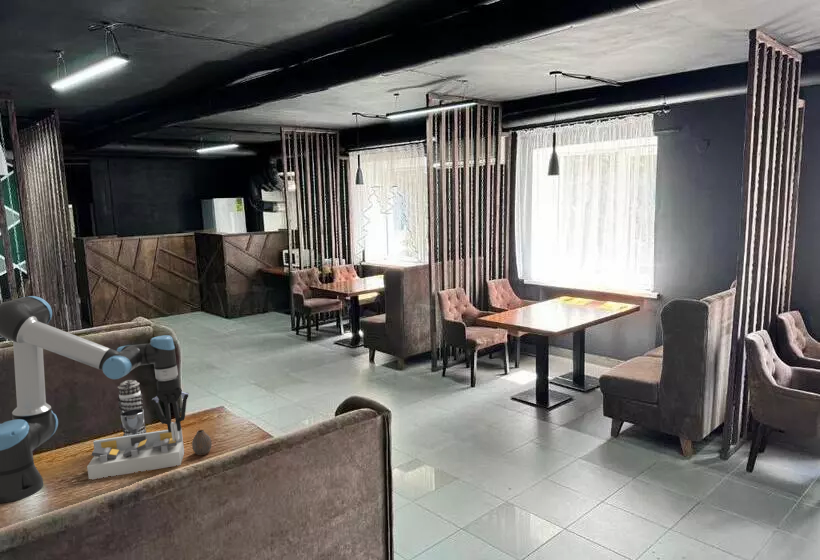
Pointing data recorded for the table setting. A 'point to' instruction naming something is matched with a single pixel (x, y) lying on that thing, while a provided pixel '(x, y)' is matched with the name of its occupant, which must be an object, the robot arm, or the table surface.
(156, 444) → the switch right
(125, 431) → the decorative candle
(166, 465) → the switch unit
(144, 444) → the switch middle
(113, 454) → the switch left
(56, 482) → the table surface
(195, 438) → the vase
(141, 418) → the wine glass
